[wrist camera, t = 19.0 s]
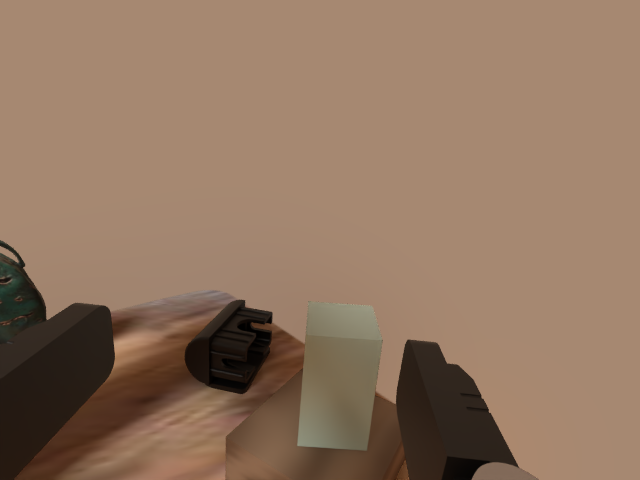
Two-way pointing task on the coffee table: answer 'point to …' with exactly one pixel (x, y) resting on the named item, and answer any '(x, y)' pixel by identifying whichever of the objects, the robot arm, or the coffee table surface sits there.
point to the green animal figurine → (17, 298)
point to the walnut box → (309, 462)
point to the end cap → (230, 348)
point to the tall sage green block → (339, 376)
